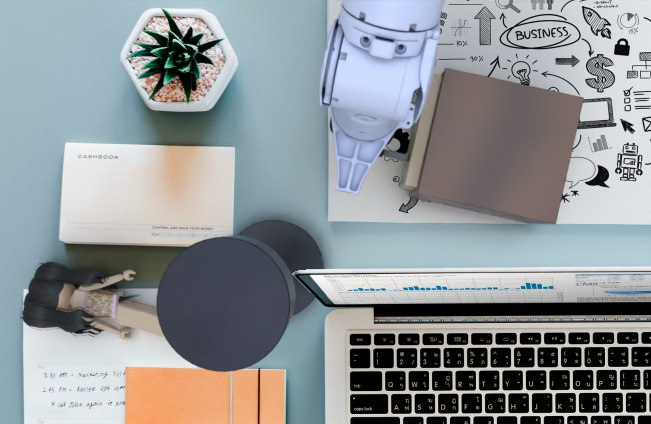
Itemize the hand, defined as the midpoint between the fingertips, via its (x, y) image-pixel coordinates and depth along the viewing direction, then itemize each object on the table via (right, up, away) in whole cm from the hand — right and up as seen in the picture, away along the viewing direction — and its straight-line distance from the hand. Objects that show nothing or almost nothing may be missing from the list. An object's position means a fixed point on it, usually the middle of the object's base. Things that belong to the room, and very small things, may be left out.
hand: (362, 122), depth 62 cm
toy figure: (-26, -18, +5) cm, 32 cm away
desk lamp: (-9, -15, +4) cm, 17 cm away
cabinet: (+12, -3, +3) cm, 13 cm away
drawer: (+9, -2, +3) cm, 9 cm away
